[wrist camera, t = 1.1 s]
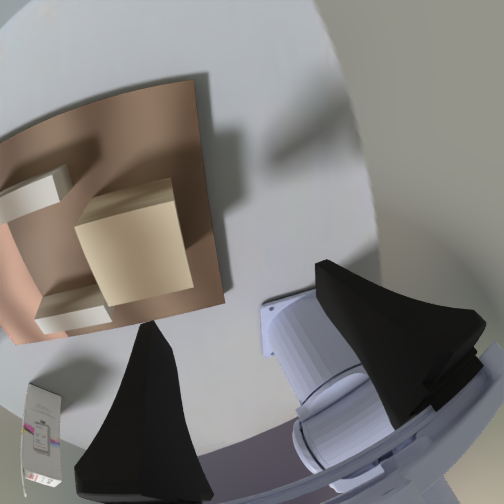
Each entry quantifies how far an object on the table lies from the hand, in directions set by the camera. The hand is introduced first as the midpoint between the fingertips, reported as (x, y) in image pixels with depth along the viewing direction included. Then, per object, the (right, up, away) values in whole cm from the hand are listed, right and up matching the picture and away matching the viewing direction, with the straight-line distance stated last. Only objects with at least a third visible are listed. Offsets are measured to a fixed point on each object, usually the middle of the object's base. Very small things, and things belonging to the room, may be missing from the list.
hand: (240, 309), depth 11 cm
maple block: (-6, +4, +4) cm, 9 cm away
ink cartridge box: (-27, -17, +11) cm, 34 cm away
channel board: (-12, +3, +4) cm, 13 cm away
